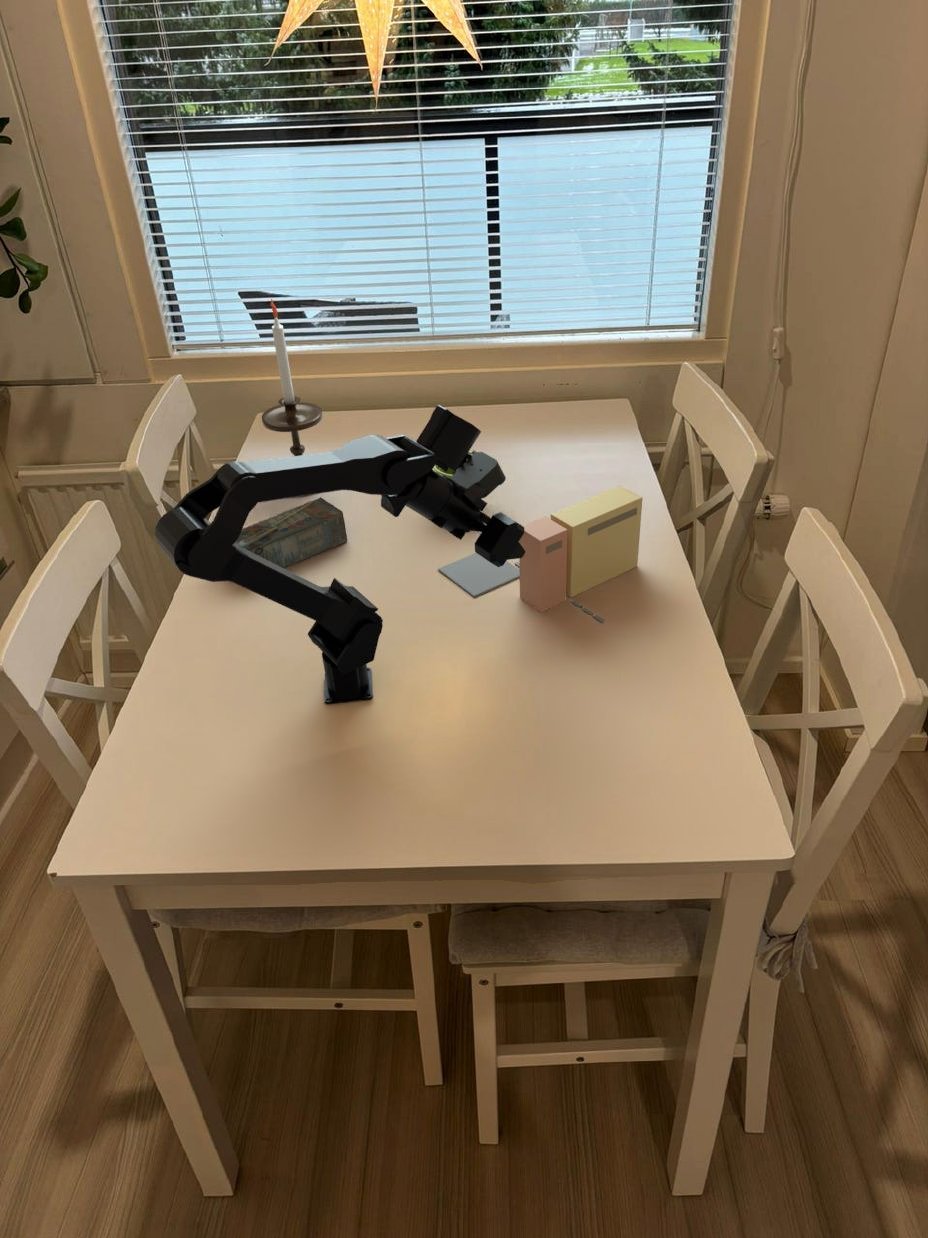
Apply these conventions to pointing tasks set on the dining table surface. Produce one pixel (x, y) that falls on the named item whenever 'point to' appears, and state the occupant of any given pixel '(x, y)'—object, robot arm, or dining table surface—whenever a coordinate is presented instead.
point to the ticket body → (600, 537)
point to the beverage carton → (295, 533)
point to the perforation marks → (581, 606)
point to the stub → (543, 564)
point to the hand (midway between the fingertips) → (503, 541)
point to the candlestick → (289, 398)
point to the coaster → (479, 574)
